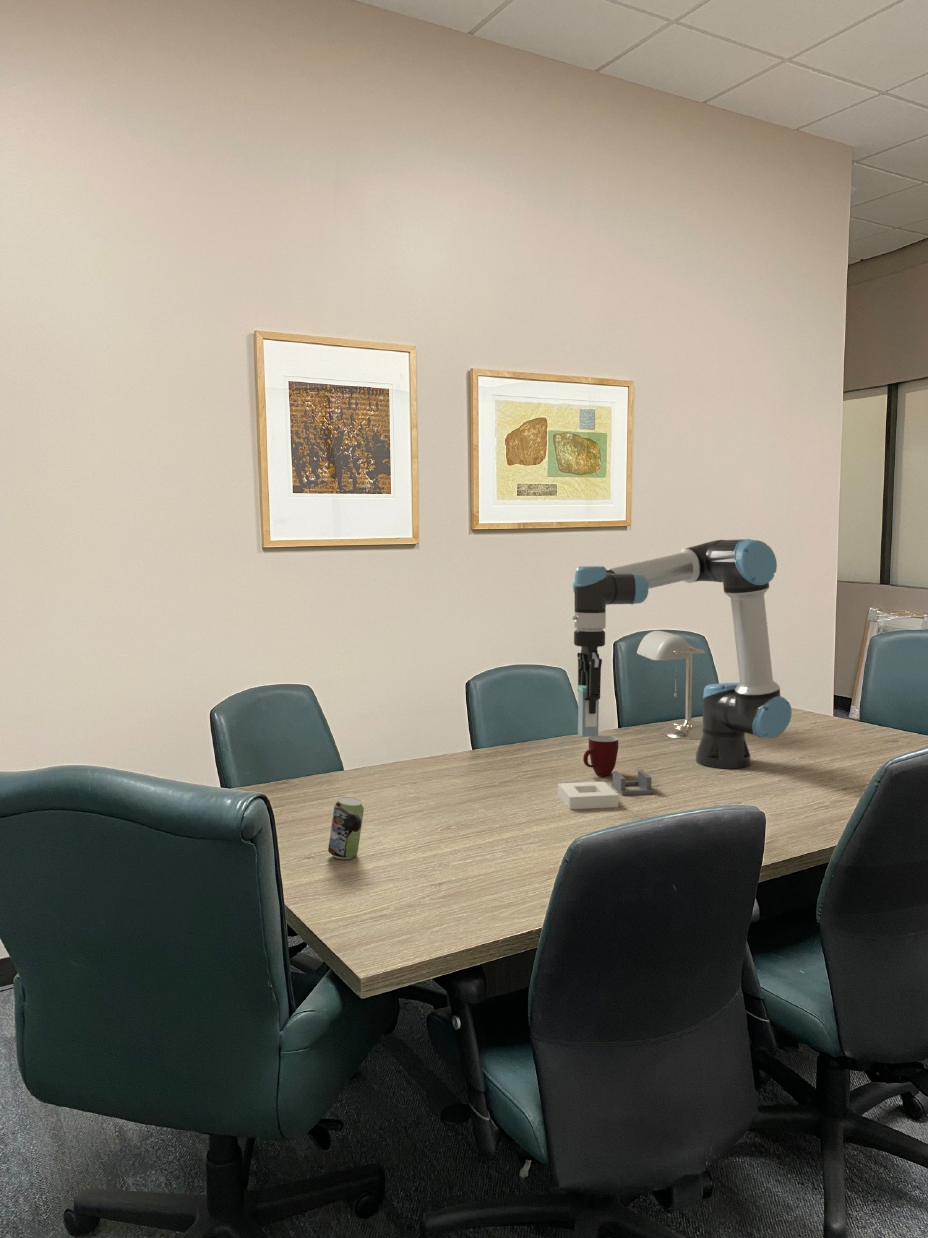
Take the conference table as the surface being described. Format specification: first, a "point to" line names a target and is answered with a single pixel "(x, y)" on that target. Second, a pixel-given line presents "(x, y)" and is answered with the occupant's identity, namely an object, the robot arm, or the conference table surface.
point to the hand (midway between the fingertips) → (588, 724)
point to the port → (587, 795)
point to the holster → (632, 784)
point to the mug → (602, 754)
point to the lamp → (674, 648)
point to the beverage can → (346, 828)
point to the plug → (581, 714)
